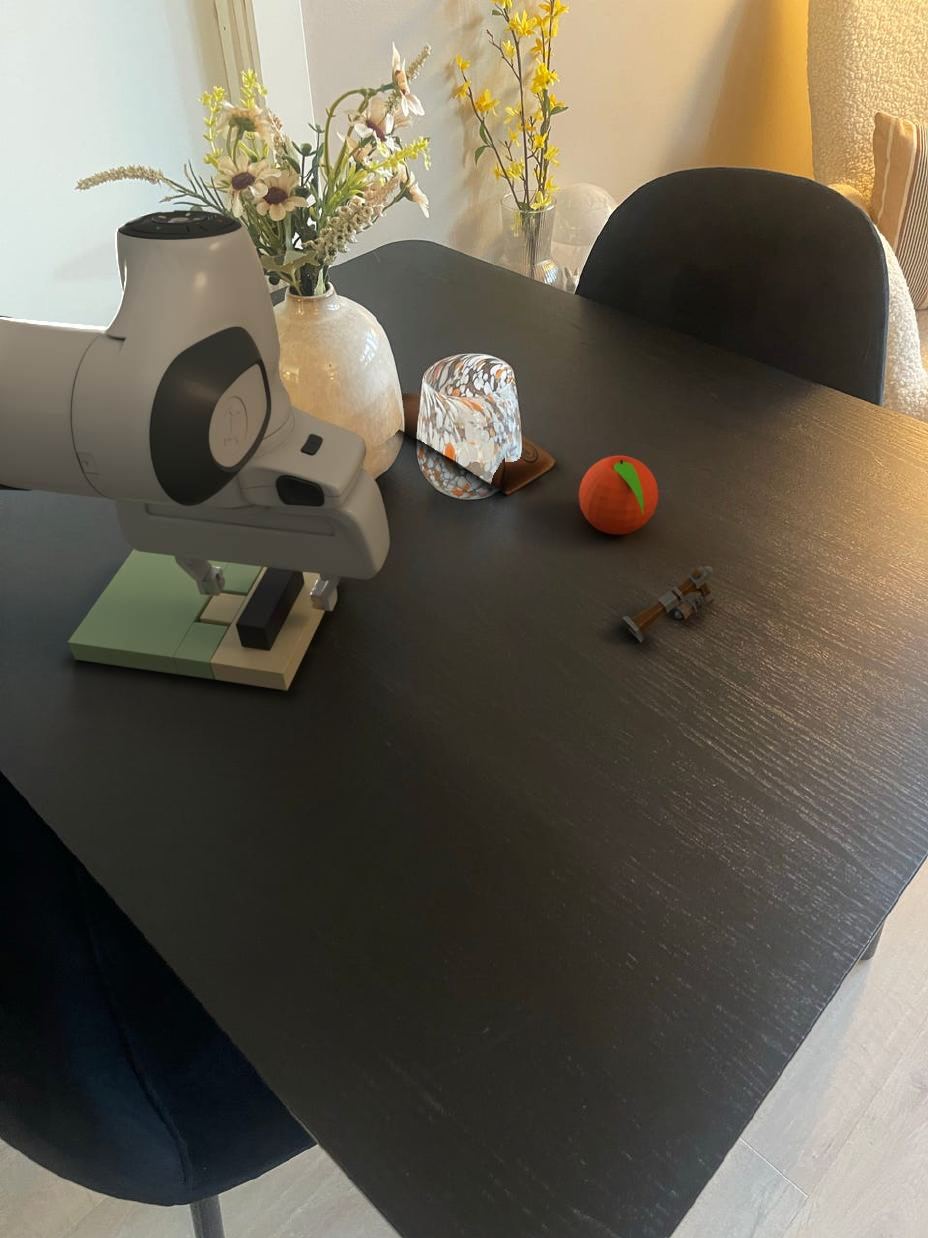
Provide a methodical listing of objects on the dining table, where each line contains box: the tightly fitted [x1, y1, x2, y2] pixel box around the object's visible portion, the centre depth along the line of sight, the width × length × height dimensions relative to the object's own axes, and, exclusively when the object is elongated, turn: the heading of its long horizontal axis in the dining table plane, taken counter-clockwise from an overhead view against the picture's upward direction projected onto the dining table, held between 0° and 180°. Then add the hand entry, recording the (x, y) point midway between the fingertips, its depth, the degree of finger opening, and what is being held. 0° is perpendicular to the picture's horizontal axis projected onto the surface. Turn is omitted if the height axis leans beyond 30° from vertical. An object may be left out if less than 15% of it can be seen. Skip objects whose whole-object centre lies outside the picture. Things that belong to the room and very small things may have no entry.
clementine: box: [578, 455, 659, 535], centre depth 84 cm, size 8×7×7 cm
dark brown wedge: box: [400, 392, 557, 496], centre depth 95 cm, size 18×7×7 cm
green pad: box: [67, 548, 264, 680], centre depth 79 cm, size 12×12×2 cm
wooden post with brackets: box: [622, 565, 715, 643], centre depth 76 cm, size 2×8×4 cm, turn 117°
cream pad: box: [200, 567, 326, 691], centre depth 77 cm, size 12×9×4 cm
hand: (269, 597), depth 75 cm, fingers open, 8 cm apart
